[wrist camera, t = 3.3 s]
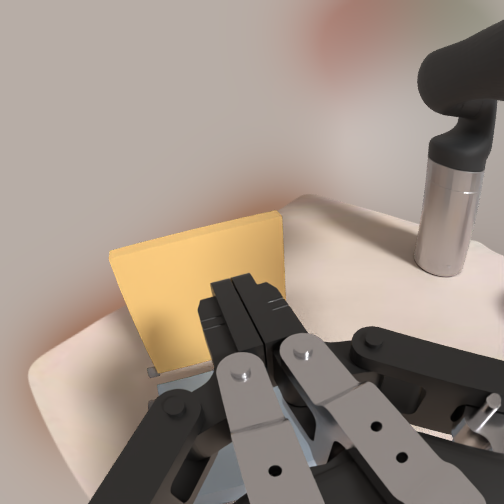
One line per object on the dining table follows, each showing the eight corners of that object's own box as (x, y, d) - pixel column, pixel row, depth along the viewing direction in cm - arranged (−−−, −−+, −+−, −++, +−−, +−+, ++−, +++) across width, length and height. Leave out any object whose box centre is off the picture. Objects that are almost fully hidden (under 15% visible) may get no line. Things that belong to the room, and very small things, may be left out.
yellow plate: (296, 338, 31) (294, 213, 24) (151, 380, 28) (95, 262, 20) (289, 328, 32) (285, 205, 25) (149, 368, 29) (98, 251, 22)
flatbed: (356, 453, 23) (366, 435, 21) (182, 512, 20) (166, 501, 17) (303, 367, 33) (304, 341, 31) (159, 409, 29) (145, 387, 27)
